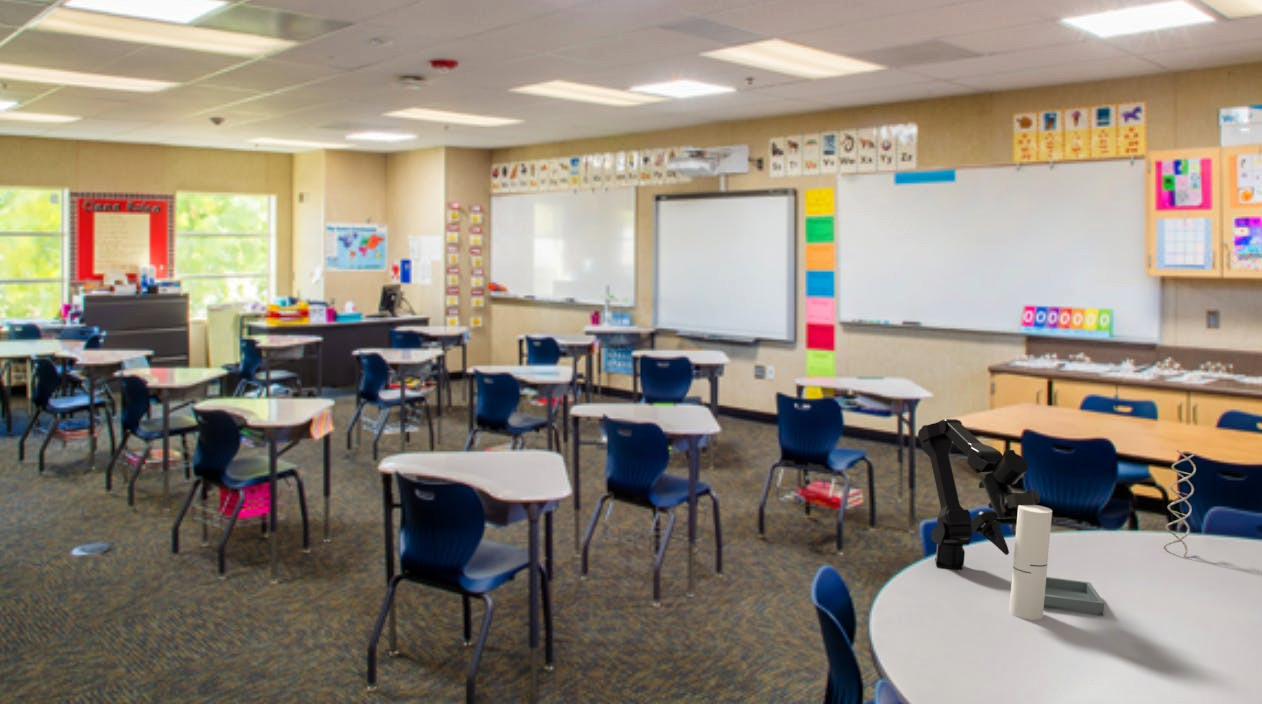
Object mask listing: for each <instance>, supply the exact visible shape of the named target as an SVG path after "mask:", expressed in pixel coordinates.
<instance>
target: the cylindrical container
mask: <svg viewBox="0 0 1262 704" xmlns="http://www.w3.org/2000/svg"><path fill="white" fill-rule="evenodd" d="M1052 517H1053V510H1052V509H1051V508H1049V507H1046V506H1043V505H1037V504H1035V505H1019V506H1018V514H1017V525H1015V526H1016V527H1015V528H1016V529H1015V539H1014V551H1013V560H1012V562H1013V563H1012V575H1011V587H1010V598H1009V608H1008V609H1009V610H1008V612H1009V613H1010V614H1011V615H1012V616H1015V617H1017V618H1020V619H1024V620H1029V621H1030V620H1031V621H1036V620H1037V621H1038V620H1041V619H1043V618H1044V609H1045V608H1044V597H1045V586H1046V577H1047V576H1048V575H1047V574H1048V560H1049V551H1050V550H1049V548H1050V539H1051V538H1050V537H1051V530H1052V528H1051V526H1052V522H1051V518H1052Z"/></svg>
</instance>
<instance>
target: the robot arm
mask: <svg viewBox="0 0 1262 704" xmlns="http://www.w3.org/2000/svg"><path fill="white" fill-rule="evenodd" d="M917 437H918V440H919V442H920V446H921V449H922V451H923V452H924V453H925V454H926V455H927V456H928V457H929V458H930V463H931V467H932V472H933V476H934V482H935V485H936V487H935V488H936V491H937V495H938V500H939V506H940V511H939V513H938V516H937V518H936V519H937V525H936V526H935V527H934V528H933V529H932V531H931V532H930V537H931V538H930V539H931V541H932V542H934V543H935V544H936V553H935V554H936V556H935V558H934V560H935V561H934V562H935V566H936V567H937V568H938V567H939V568H944V569H953V570H960V571H961V570H963V566H965V565H964V563H965V552H966V551H965V548H964V545H965V546H969V545H970V543H971V539H972V536H973V534H974V533H978V534H979V536H983V537H984V538H985V539H987V541H989V542H991V543H992V544H993V545H994V546H996V547H997V548H998V550H1000V552H1002V553H1003V554H1004V555H1005V556H1008V555H1009V554H1010V550H1009V546H1008V544H1007V542H1006V539H1005V537H1004V535H1003V532H1002V526H1006V525H1007V526H1008V525H1010V526H1012V525H1014V526H1016V525H1017V514H1018V506H1019V505H1037V504H1040V502H1041V498H1040V495H1039V493H1038V491H1037V490H1035V489H1033V490H1031V489H1030V490H1026V491H1025V492H1013V489H1012V487H1011V486H1013V485H1015V484H1017V482H1018V481H1019V480H1020V479H1021V478H1022V477H1023V476H1024V474H1026V473H1027V471H1028V470H1029V463H1028V460H1026V459H1025V458H1024V457H1023V456H1021V455H1020V454H1018V453H1016V452H1015V450H1014V449H1006V450H1004V452H1003V453H1001V451H1000V450H998V449H996V448H995V447H993V446H990V445H987V444H984V443H982V442H981V441H980V440H979V439H978V438H977V437H976V436H975V435H974V434H972V433H971V432H970V431H969V430H968V428H966V427H965V426H964V425H963V422H962V421H961V420H959V419H956V418H955V419H951V418H950V419H949V418H948V419H947V418H943V419H940V420H939V421H937V422H934V423H930V424H924V425H922V426H921V428H920V429H919V430H918V433H917ZM953 443H954V445H955V446H956V447H957V448H958V449H959V450H961V451H962V453H963V454H965V456H966V457H967V458H966V463H967V464H968V466H969V467H970V469H971V470H972V471H973V472H974V474H986V475H984V476H982V477H981V478H980V480H979V481H980V482H979V484H978V488H979V489H984V490H985V492H986V495H987V496H988V500H989V502H988V504H987V505H988V508H989V509H992V510H980V511H979V512H978V513H977V514H976V516H975V517H973V518H971V512H970V511H969V509H964V508H963V507H962V506H961V504H960V499H959V495H958V490H957V485H956V482H955V477H954V472H953V468H952V463H951V460H950V452H951V449H952V446H953ZM1054 519H1055V518H1054V517H1053V516H1052V518H1051V523H1052V522H1053V521H1054Z"/></svg>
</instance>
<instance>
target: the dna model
mask: <svg viewBox="0 0 1262 704" xmlns="http://www.w3.org/2000/svg"><path fill="white" fill-rule="evenodd" d="M1176 452H1177V453H1179V454H1180V455H1181V456H1182V457H1184V458H1183V459H1180V460H1178V461H1176V462H1174V463H1173V464H1171V469H1172V471H1174V472H1175V473H1176V474H1177V476H1180V477H1181V479H1179V480H1177V481H1175V482H1173V483H1171V484H1170V485H1169V490H1170V491H1171V492H1173V493H1174V494H1175V496H1177V497H1179V498H1180V499H1178V500H1174V501H1173V502H1171V503H1169V504H1168V505H1167V509H1168V511H1169V512H1171V513H1172V514H1173V515H1174V516H1176V517H1177V518H1178V519H1176V520H1172V522H1168V523H1167V524H1166V525H1165V529H1166V530H1167V531H1168V532H1169V533H1170V534H1171V535H1172V536H1174V537H1175V538H1176V540H1172V541H1170V542H1168V543H1164V545H1163V549H1164V550H1165V551H1166V550H1167V551H1168V548H1167V547H1168V546H1170V545H1172V544H1176V543H1180V542H1181V543H1182V545H1183V547H1184V550H1185V551H1184V554H1183V555H1182V556H1183V557H1186V555H1188V546H1187V543H1186V542H1184V541H1183V540H1184V539H1185V538H1187V537H1188V535H1189V534H1190V532H1191V531H1190V526H1189V524H1188V522H1187V521H1185V520H1186V518H1188V517H1190V516H1191V514H1192V512H1193V511H1192V510H1193V509H1192V507H1193V506H1192V505H1191V503H1189V502H1188V500H1187V499H1189V497H1192V495H1193V494H1194V492H1195V488H1194V485H1193V484H1192V483H1191V481H1190V480H1189V479H1190V478H1191V477H1193V476H1194V475H1195V474H1196V471H1197V467H1196V464H1194V461H1192V460H1191V458H1193V457H1194V456H1195V454H1194V453H1193V454H1191V455H1189V456H1187V455H1185V454H1184V453H1182V452H1181V451H1179V450H1178V449H1176ZM1185 461H1186V462H1187V461H1188V462H1190V464H1191V466H1192V467H1193V471H1192V472H1191V473H1189V472H1185V471H1181V470H1178V469H1176V468H1175V466H1176V465H1178V464H1180V463H1182V462H1185ZM1182 474H1186V476H1184V475H1182ZM1182 482H1187V483H1188V484H1189V485H1190V487H1191V492H1190V493H1189V494H1188V493H1185V492H1182V495H1185V496H1184V497H1183V496H1182V495H1180V494H1181V492H1180V491H1177V490H1175V489H1173V486H1174V485H1176V484H1178V483H1179V484H1180V483H1182ZM1180 502H1184V503H1186V504H1187V505H1188V507H1189V512H1188V513H1187V514H1186V513H1185V514H1184V513H1180V512H1178V511H1176V510H1173V509H1171V506H1173V505H1176V504H1178V503H1180ZM1180 515H1183V517H1182V516H1180ZM1179 522H1182V523H1184V525H1185V526H1186V528H1187V529H1186V533H1185V535H1183V534H1181V533H1177V532H1175V531H1173V530H1170V528H1169V526H1171V525H1174V524H1176V523H1179ZM1178 535H1179V536H1181V537H1179V536H1178Z"/></svg>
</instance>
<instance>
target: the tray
mask: <svg viewBox="0 0 1262 704" xmlns="http://www.w3.org/2000/svg"><path fill="white" fill-rule="evenodd" d="M1044 609H1049V610H1054V611H1064V612H1070V613H1076V614H1077V613H1080V614H1086V615H1087V614H1088V615H1093V616H1100V617H1101V616H1102V617H1104V615H1105V614H1104V613H1105V602H1104V601H1103V599H1102V598H1101V596H1100V595H1099V593H1098V592H1097V590H1096V589H1095V588H1094V586H1093V584H1092V583H1091V582H1089V581H1082V580H1075V579H1066V578H1059V577H1058V578H1057V577H1052V576H1051V577H1050V576H1046V586H1045V597H1044Z"/></svg>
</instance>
